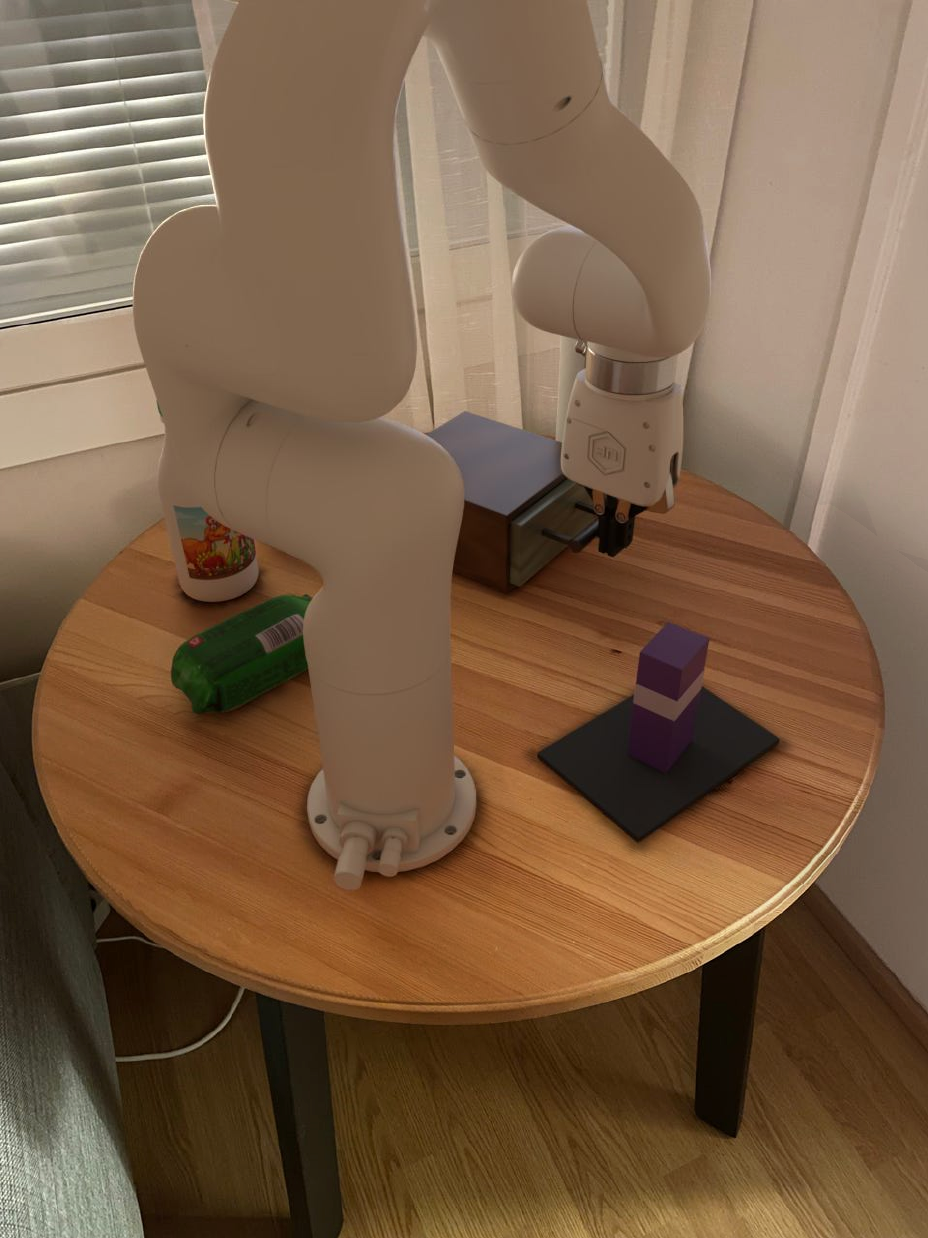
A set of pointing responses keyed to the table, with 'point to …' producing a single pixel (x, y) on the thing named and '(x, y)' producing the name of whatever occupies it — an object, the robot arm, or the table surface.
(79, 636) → the table surface
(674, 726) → the snack carton
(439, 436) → the cabinet
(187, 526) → the milk bottle
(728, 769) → the mat
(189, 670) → the snack package
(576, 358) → the paper towel roll
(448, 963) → the table surface
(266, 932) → the table surface
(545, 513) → the drawer
